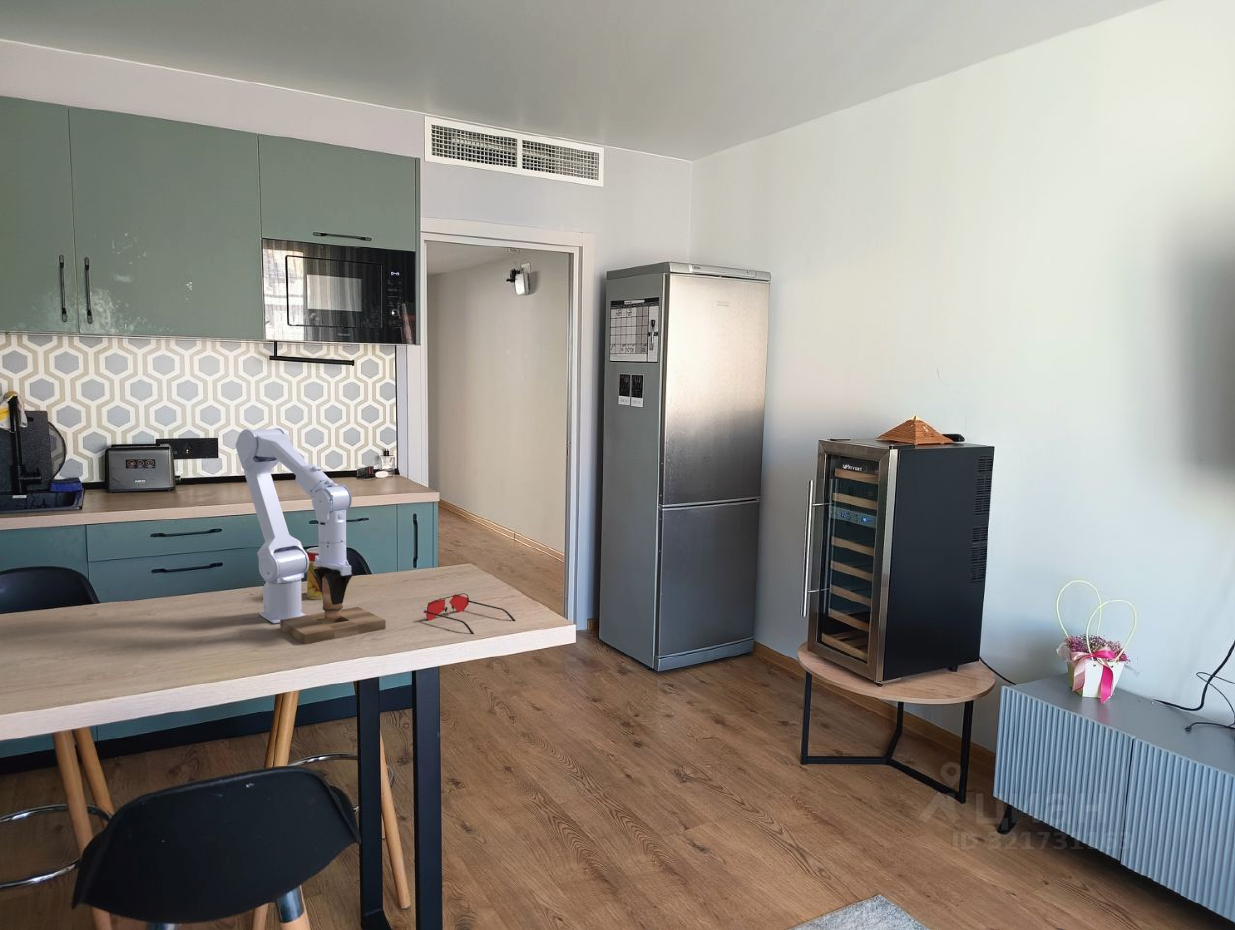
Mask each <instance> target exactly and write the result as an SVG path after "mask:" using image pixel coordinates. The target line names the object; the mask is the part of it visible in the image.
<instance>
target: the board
mask: <svg viewBox="0 0 1235 930" xmlns="http://www.w3.org/2000/svg"><path fill="white" fill-rule="evenodd" d="M386 622H387V621H386V619H385V618H382V617H381V616H378V615H376V614H374V613H373V612H370V611H368V610H366V609H363V608H362V607H359V606H355V607H347V608H342V609H341V617H340V618H337V619H325V611H324V612H317V613H314V614H313V613H311V614H306V616H300V617H294V618H288V619H282V620H280V623H279V625H280V626H279V627H280V630H281V631H283V632H285V633H286V634H288V635H290V636H291V637H293V638H295V639H296V640H297V641H299V642H301V643H302V644H304V645H307V644H308V645H309V644H313V643H319V642H323V641H328V640H334V638H335V639H339V638H344V637H350V636H354V635H355V636H356V635H361V634H366V633H370V632H375V631H380V630H385V629H386Z"/></svg>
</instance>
